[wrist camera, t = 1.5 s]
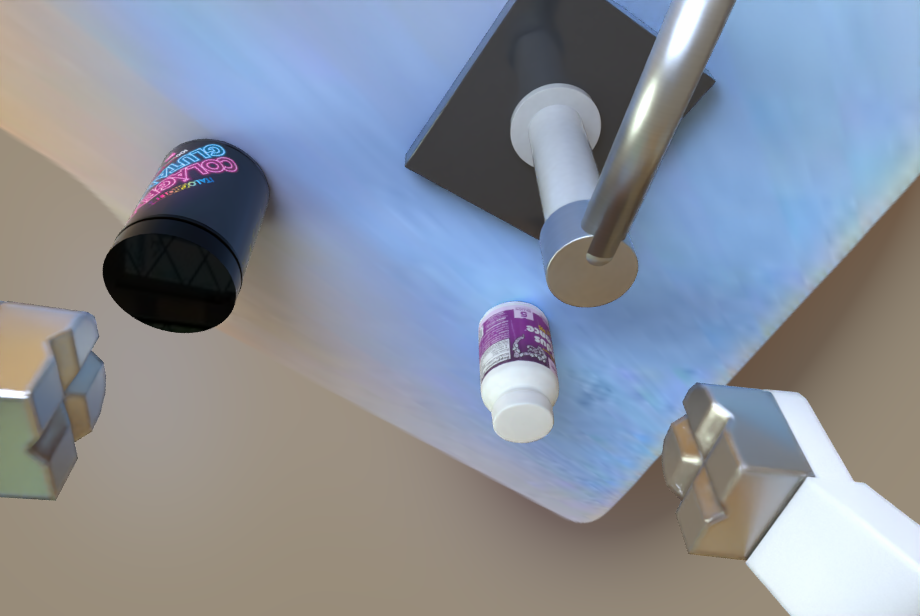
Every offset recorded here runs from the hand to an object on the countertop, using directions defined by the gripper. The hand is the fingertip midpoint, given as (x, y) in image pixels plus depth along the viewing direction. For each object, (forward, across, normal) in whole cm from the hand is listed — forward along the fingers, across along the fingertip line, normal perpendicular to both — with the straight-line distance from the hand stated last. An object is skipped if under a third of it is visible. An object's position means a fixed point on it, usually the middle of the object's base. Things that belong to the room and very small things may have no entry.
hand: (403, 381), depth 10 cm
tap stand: (+33, -9, +9) cm, 36 cm away
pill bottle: (+35, -10, +26) cm, 44 cm away
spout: (+22, -9, +3) cm, 24 cm away
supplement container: (+34, +11, +17) cm, 39 cm away
